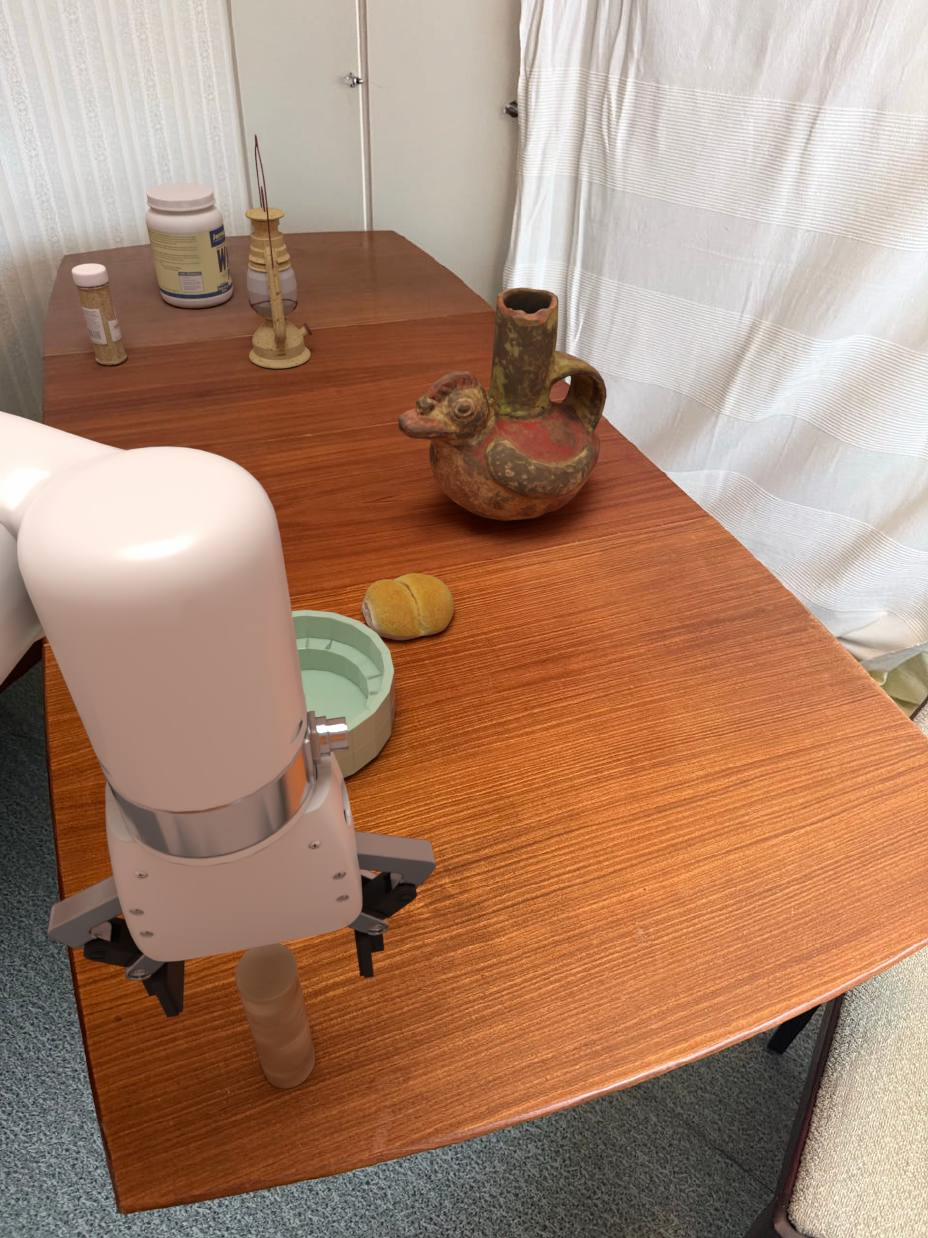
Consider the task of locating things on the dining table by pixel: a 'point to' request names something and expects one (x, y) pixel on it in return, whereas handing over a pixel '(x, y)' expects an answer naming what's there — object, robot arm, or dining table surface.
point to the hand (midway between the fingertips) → (272, 969)
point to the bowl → (347, 681)
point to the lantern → (273, 290)
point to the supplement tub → (188, 245)
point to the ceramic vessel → (514, 419)
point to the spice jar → (99, 313)
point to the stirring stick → (276, 1013)
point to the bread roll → (408, 606)
